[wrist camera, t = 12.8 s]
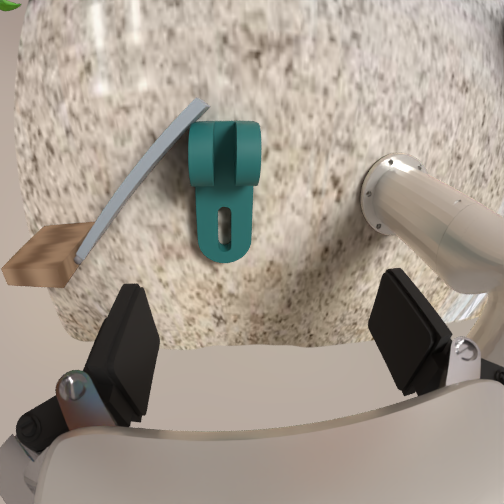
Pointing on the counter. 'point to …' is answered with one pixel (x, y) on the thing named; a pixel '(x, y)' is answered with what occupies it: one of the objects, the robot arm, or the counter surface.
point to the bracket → (224, 182)
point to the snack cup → (8, 5)
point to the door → (141, 173)
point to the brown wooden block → (47, 256)
